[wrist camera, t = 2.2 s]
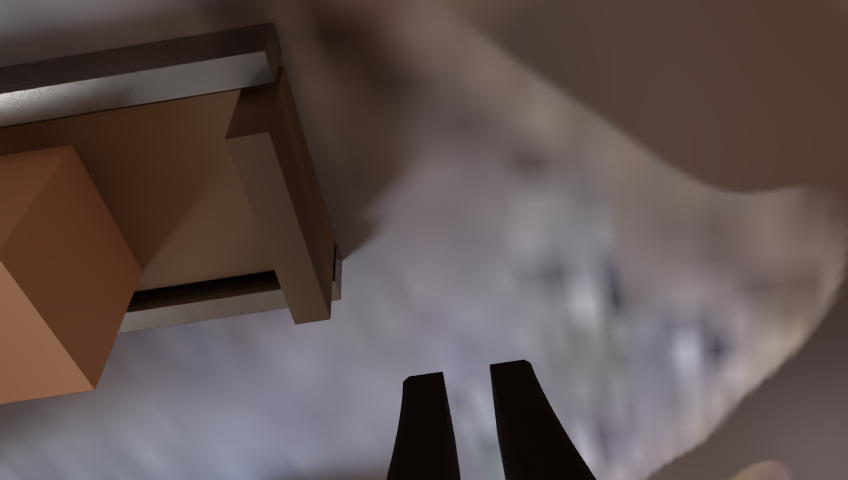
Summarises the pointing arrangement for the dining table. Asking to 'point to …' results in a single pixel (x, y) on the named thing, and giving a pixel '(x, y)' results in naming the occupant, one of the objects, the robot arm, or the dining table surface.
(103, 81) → the lane rails
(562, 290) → the dining table surface
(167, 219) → the brown boxy piece
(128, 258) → the block
